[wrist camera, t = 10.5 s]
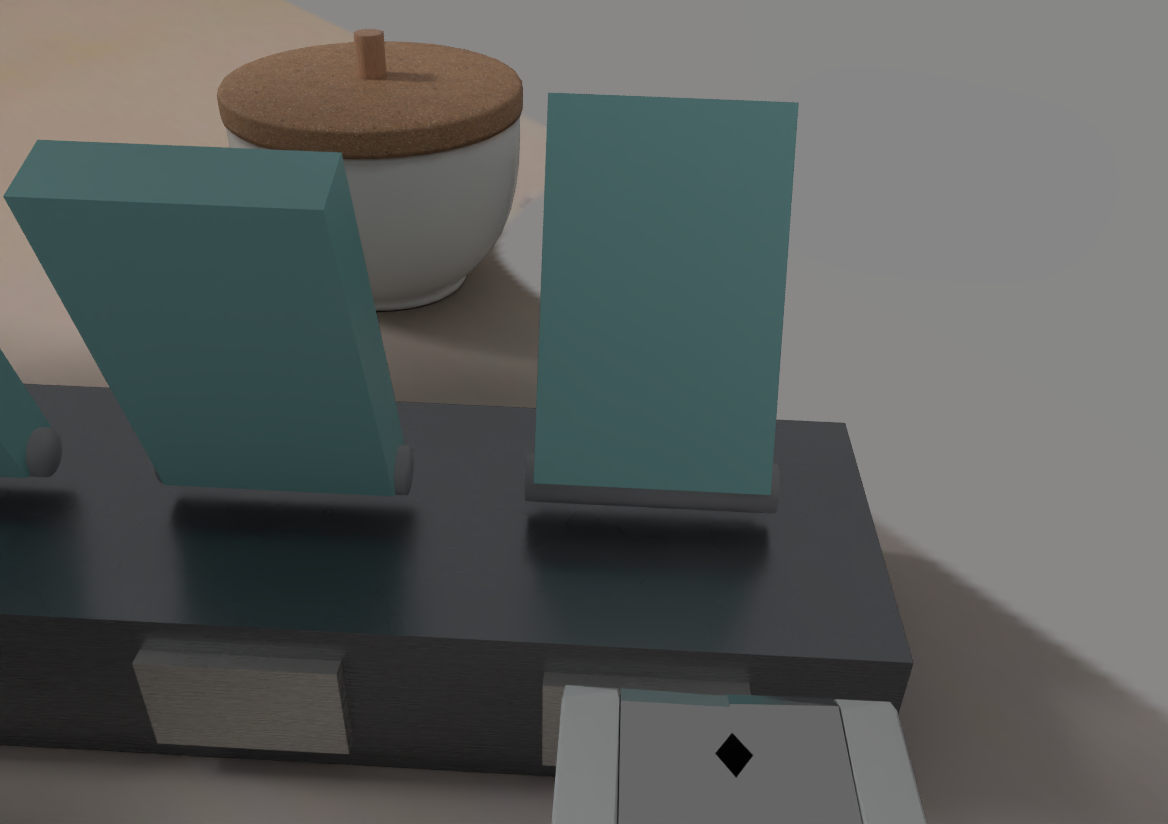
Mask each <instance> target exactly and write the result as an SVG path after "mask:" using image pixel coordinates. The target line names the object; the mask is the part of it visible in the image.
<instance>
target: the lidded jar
mask: <svg viewBox="0 0 1168 824" xmlns="http://www.w3.org/2000/svg"><path fill="white" fill-rule="evenodd" d="M217 99H218V105H219V111H220V115H221V119H222V121H223V123H224V126H225V127H226V130H227V136H228V142H229V148H245V149H269V150H293V151H318V152H342V157H343V162H344V166H345V171H346V176H347V180H348V185H349V189H350V194H351V199H352V203H353V208H354V212H355V217H356V222H357V226H358V231H359V236H360V240H361V245H362V249H363V254H364V259H365V263H366V268H367V272H368V277H369V282H370V286H371V291H372V296H373V300H374V305H375V309H376V311H394V310H404V309H410V308H416V307H420V306H424V305H428V304H431V303H434V302H436V301H439V300H441V299H443V298H445V297H448V296H449V295H451V294H452V293H454V292H455V291H456V290H458V289H459V288H460V287H461V286H462V284H463V283H464V282H465V279H466V276H467V274H468V273H469V272H470V271H471V270H473V269H474V268H475V267H476V266H477V265H478V264H479V263H480V262H481V261H482V260H483V259H484V258H485V257H486V256H487V254H488V253H489V252H490V250H491V249H492V248H493V246H494V245H495V243H496V241H497V240H498V238H499V237H500V235H501V233H502V231H503V228H504V226H505V224H506V221H507V219H508V216H509V213H510V210H511V207H512V202H513V198H514V194H515V189H516V184H517V176H518V168H519V154H520V115H521V112H522V108H523V87H522V81H521V79H520V78H519V76H518V75H517V73H516V72H515V71H514V70H513V69H512V68H510V67H509V66H507V65H506V64H504V63H502V62H501V61H499V60H497V59H494V58H491V57H488V56H486V55H483V54H479V53H476V52H472V51H469V50H465V49H460V48H454V47H448V46H442V45H435V44H425V43H412V42H384V33H383V31H381V30H376V29H363V30H358V31H355V32H354V42H349V43H338V44H328V45H319V46H311V47H306V48H300V49H295V50H290V51H286V52H281V53H276V54H273V55H270V56H267V57H264V58H261V59H258V60H255V61H253V62H250V63H247V64H245V65H243V66H241V67H239V68H238V69H236V70H234V71H233V72H231V73H230V74H229V75H227V76H226V77H225V78H224V79H223V81H222V83H221V84H220V86H219V88H218V92H217Z"/></svg>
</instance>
